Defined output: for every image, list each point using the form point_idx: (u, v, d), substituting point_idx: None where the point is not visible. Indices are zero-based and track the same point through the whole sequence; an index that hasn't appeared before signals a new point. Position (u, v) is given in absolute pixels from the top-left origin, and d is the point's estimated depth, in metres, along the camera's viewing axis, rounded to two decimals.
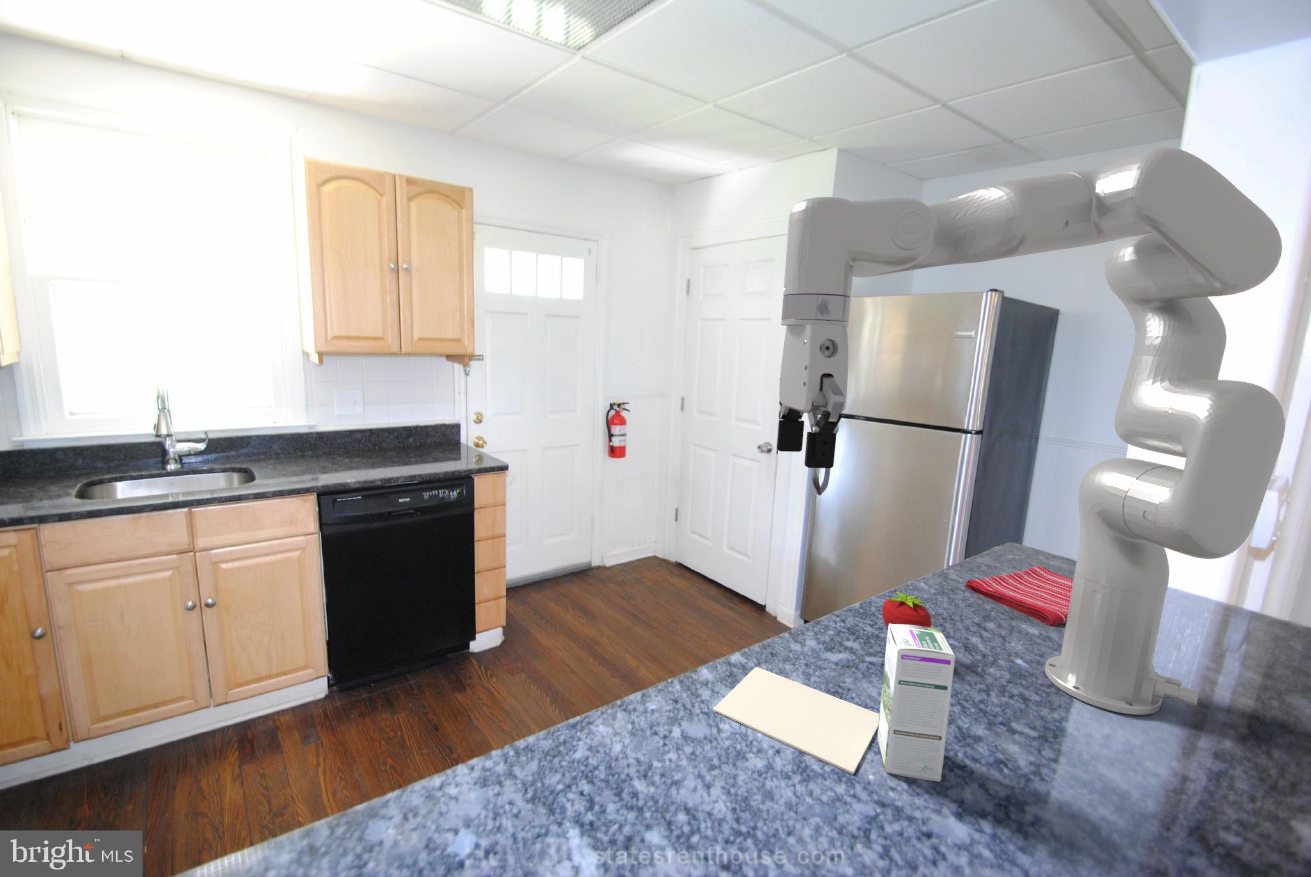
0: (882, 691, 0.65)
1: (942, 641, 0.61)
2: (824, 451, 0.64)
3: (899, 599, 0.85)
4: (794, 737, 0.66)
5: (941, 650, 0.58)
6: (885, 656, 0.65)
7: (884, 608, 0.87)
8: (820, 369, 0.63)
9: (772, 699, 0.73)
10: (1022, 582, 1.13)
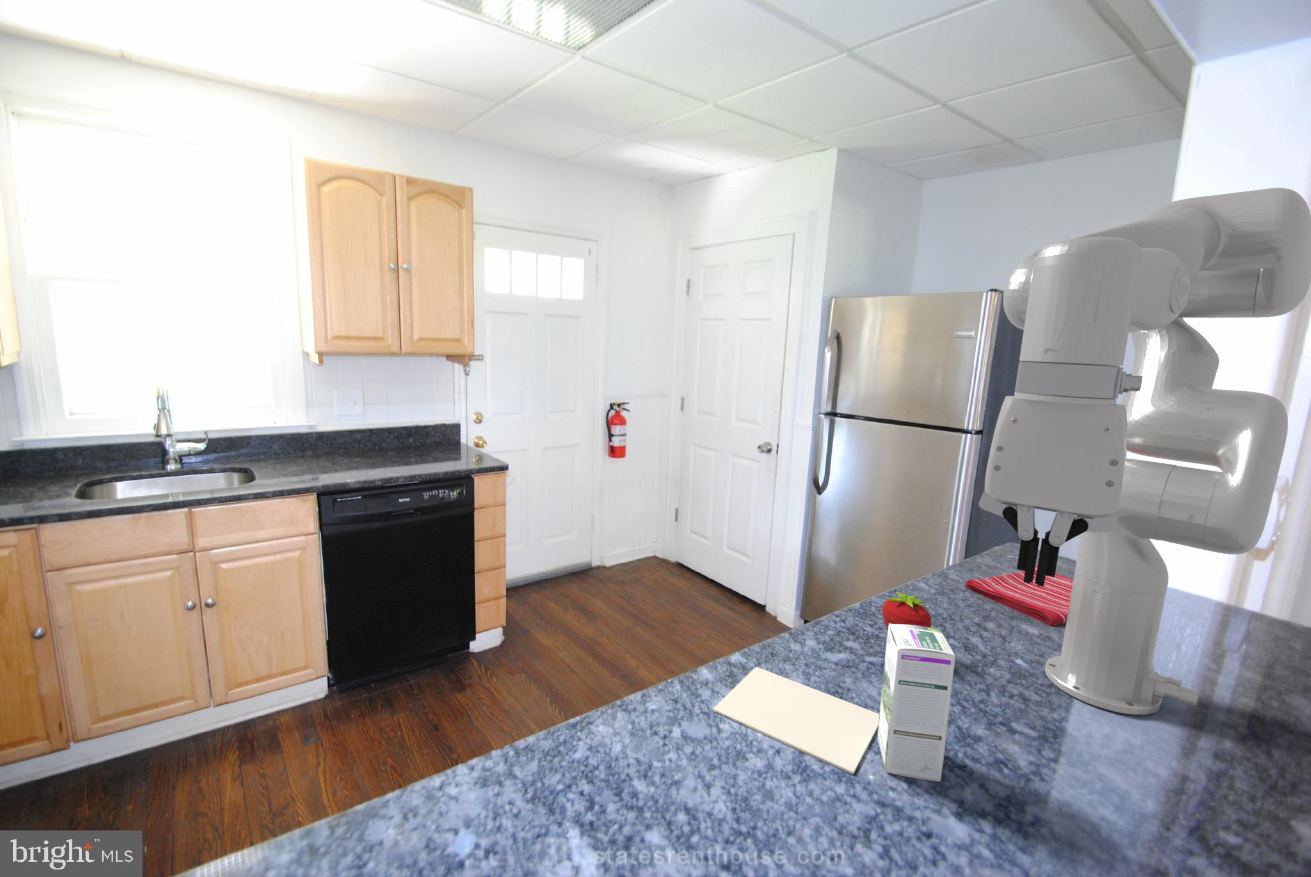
0: (882, 691, 0.65)
1: (942, 641, 0.61)
2: None
3: (899, 599, 0.85)
4: (794, 737, 0.66)
5: (941, 650, 0.58)
6: (885, 656, 0.65)
7: (884, 608, 0.87)
8: (1124, 463, 0.49)
9: (772, 699, 0.73)
10: (1022, 582, 1.13)
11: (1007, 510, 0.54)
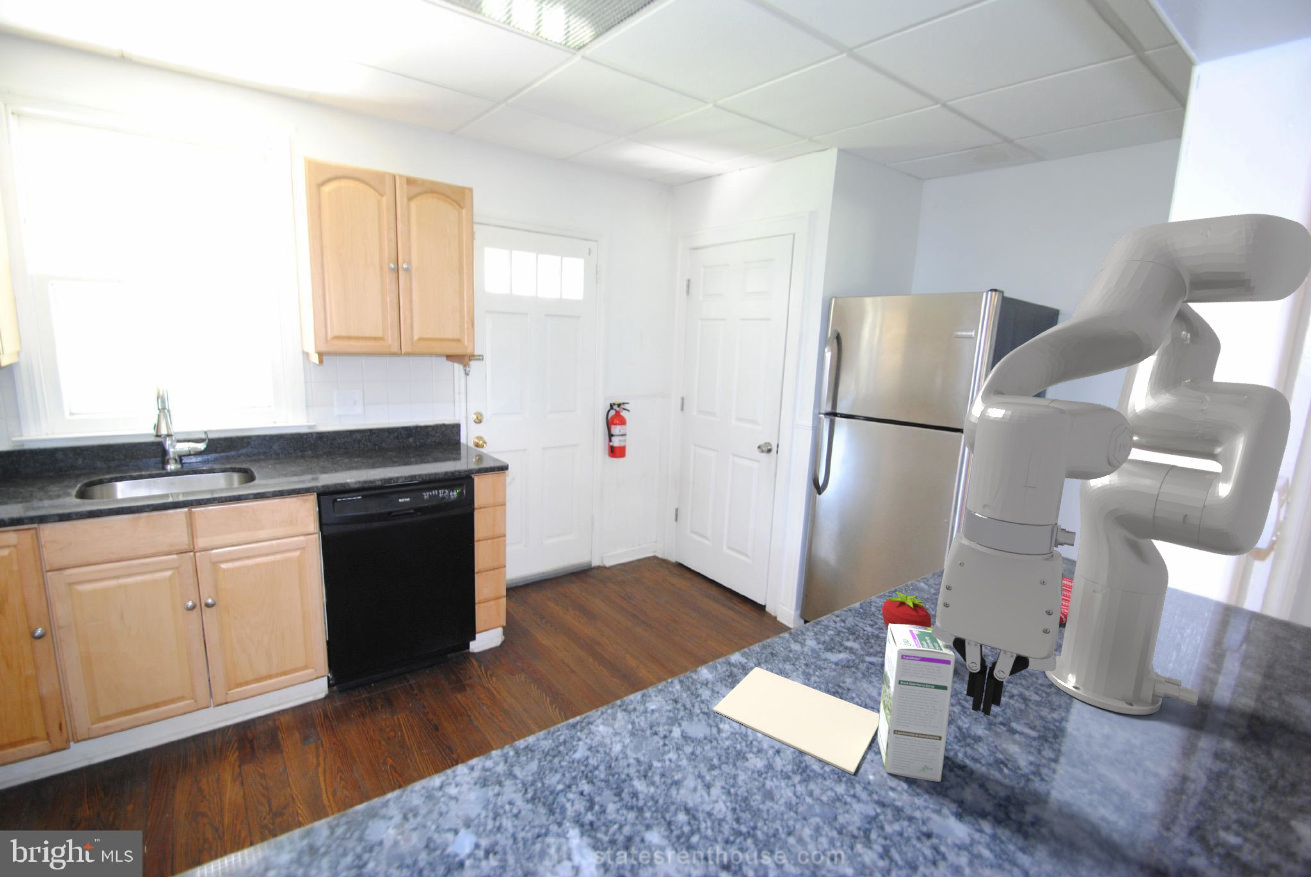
0: (882, 691, 0.65)
1: None
2: None
3: (899, 599, 0.85)
4: (794, 737, 0.66)
5: (941, 650, 0.58)
6: (885, 656, 0.64)
7: (884, 608, 0.87)
8: (1060, 610, 0.53)
9: (772, 699, 0.73)
10: None
11: (956, 641, 0.58)
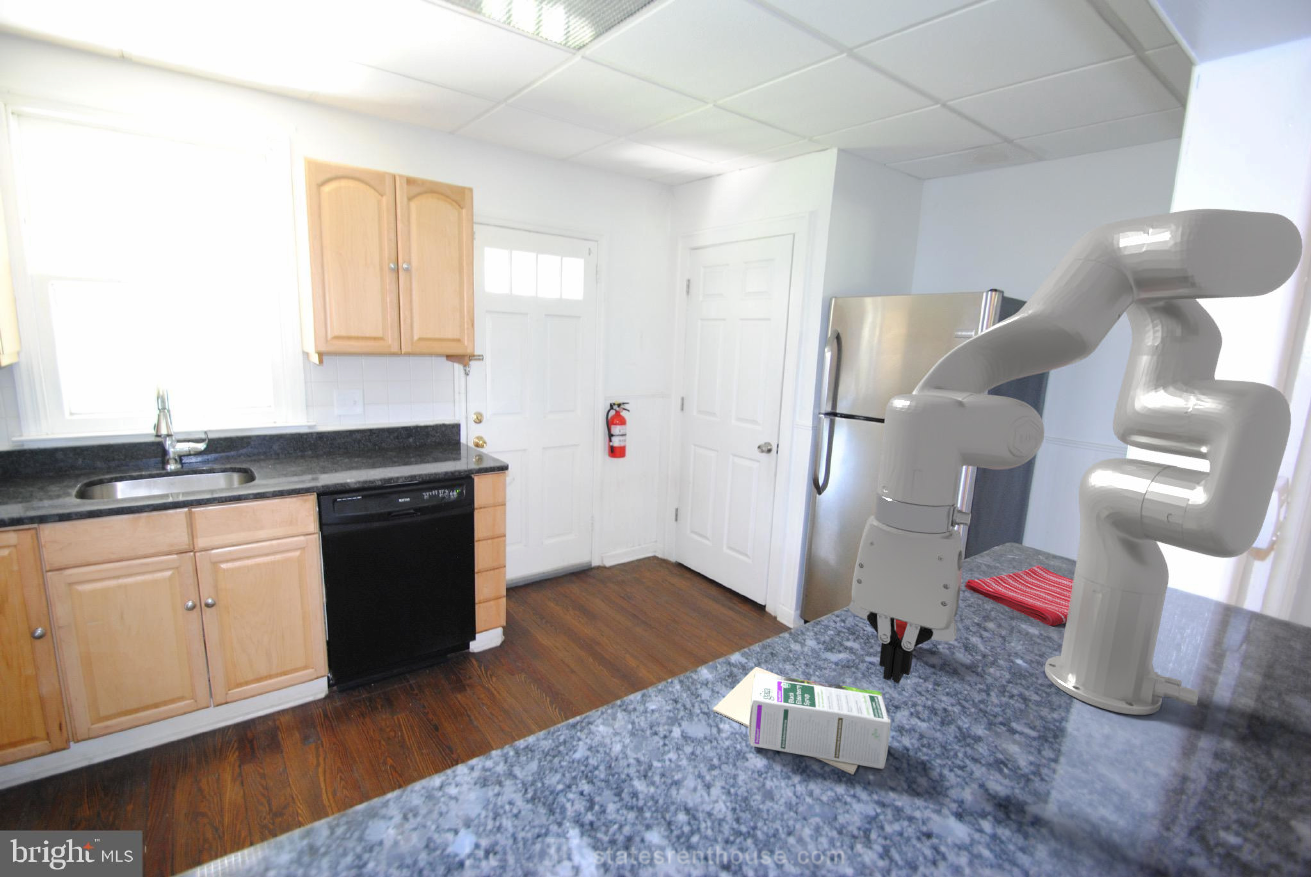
0: None
1: (752, 691, 0.66)
2: (910, 662, 0.62)
3: None
4: None
5: (750, 708, 0.64)
6: None
7: None
8: (957, 585, 0.58)
9: None
10: (1021, 582, 1.13)
11: (870, 616, 0.63)
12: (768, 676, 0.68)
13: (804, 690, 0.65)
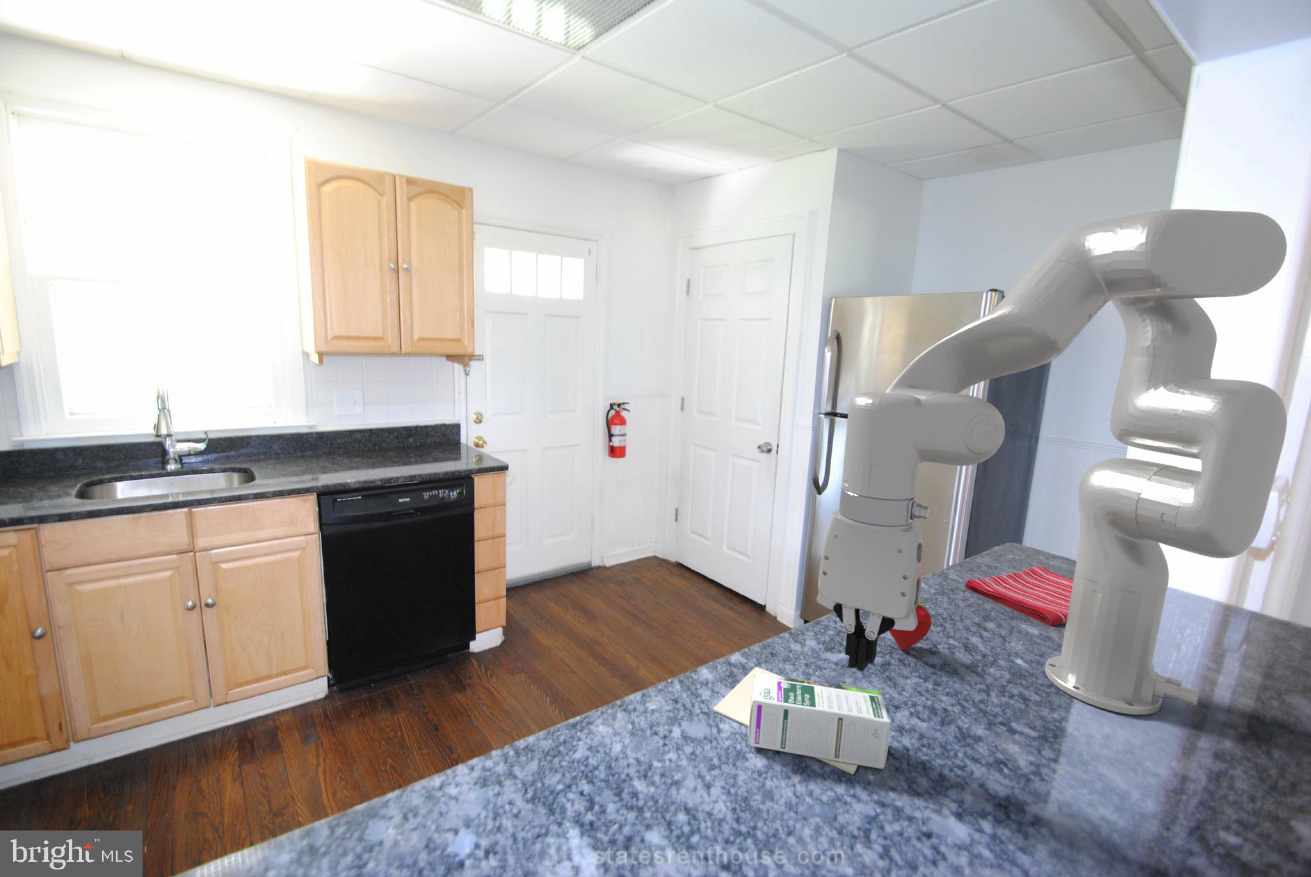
0: None
1: (752, 691, 0.66)
2: (874, 651, 0.64)
3: None
4: None
5: (750, 708, 0.64)
6: None
7: None
8: (916, 576, 0.60)
9: None
10: (1021, 582, 1.13)
11: (836, 606, 0.65)
12: (768, 676, 0.68)
13: (804, 690, 0.65)
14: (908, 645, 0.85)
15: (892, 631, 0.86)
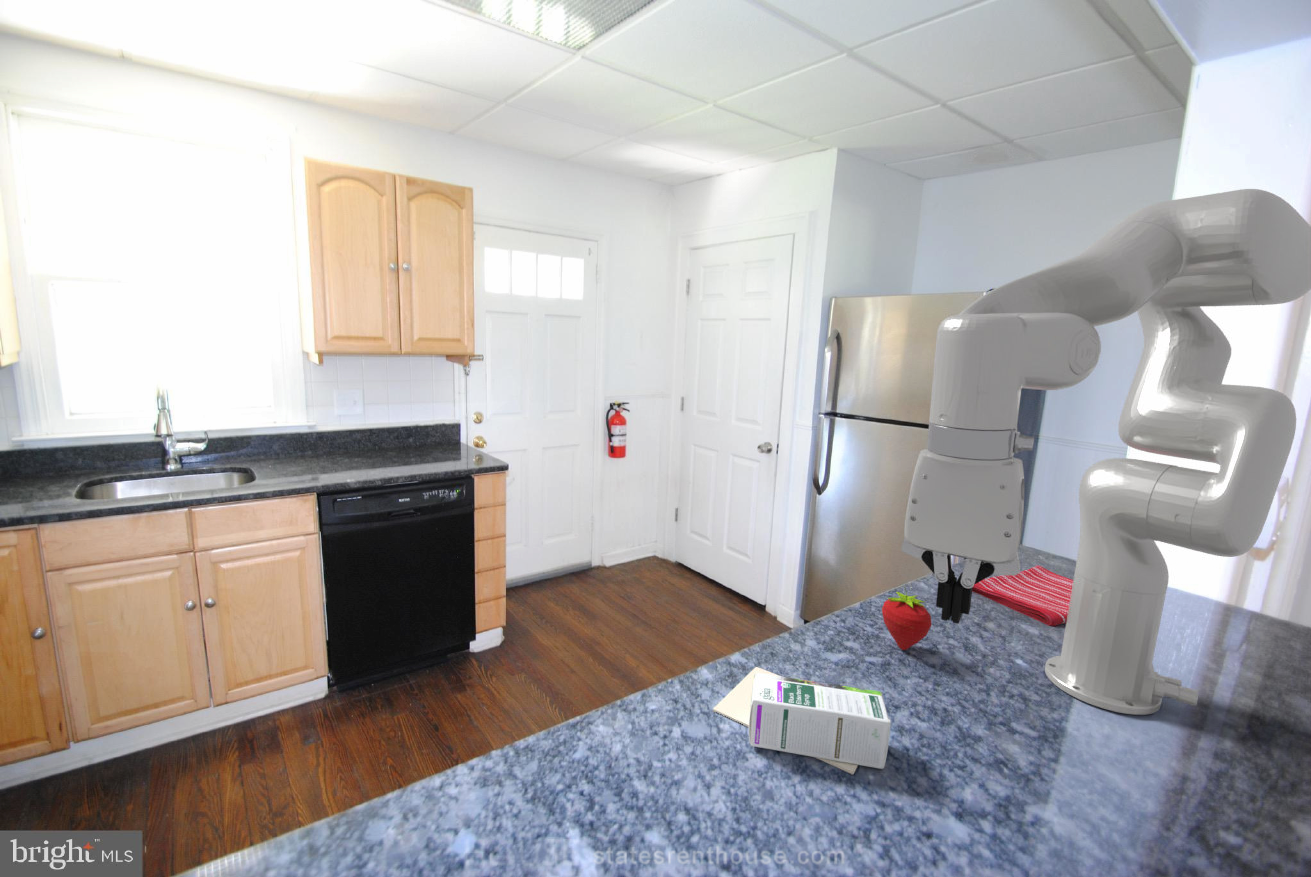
0: None
1: (752, 691, 0.66)
2: (969, 601, 0.59)
3: (899, 599, 0.85)
4: None
5: (750, 708, 0.64)
6: None
7: (884, 608, 0.87)
8: (1021, 515, 0.54)
9: None
10: (1021, 582, 1.13)
11: (925, 554, 0.60)
12: (768, 676, 0.68)
13: (804, 690, 0.65)
14: (908, 645, 0.85)
15: (892, 631, 0.86)
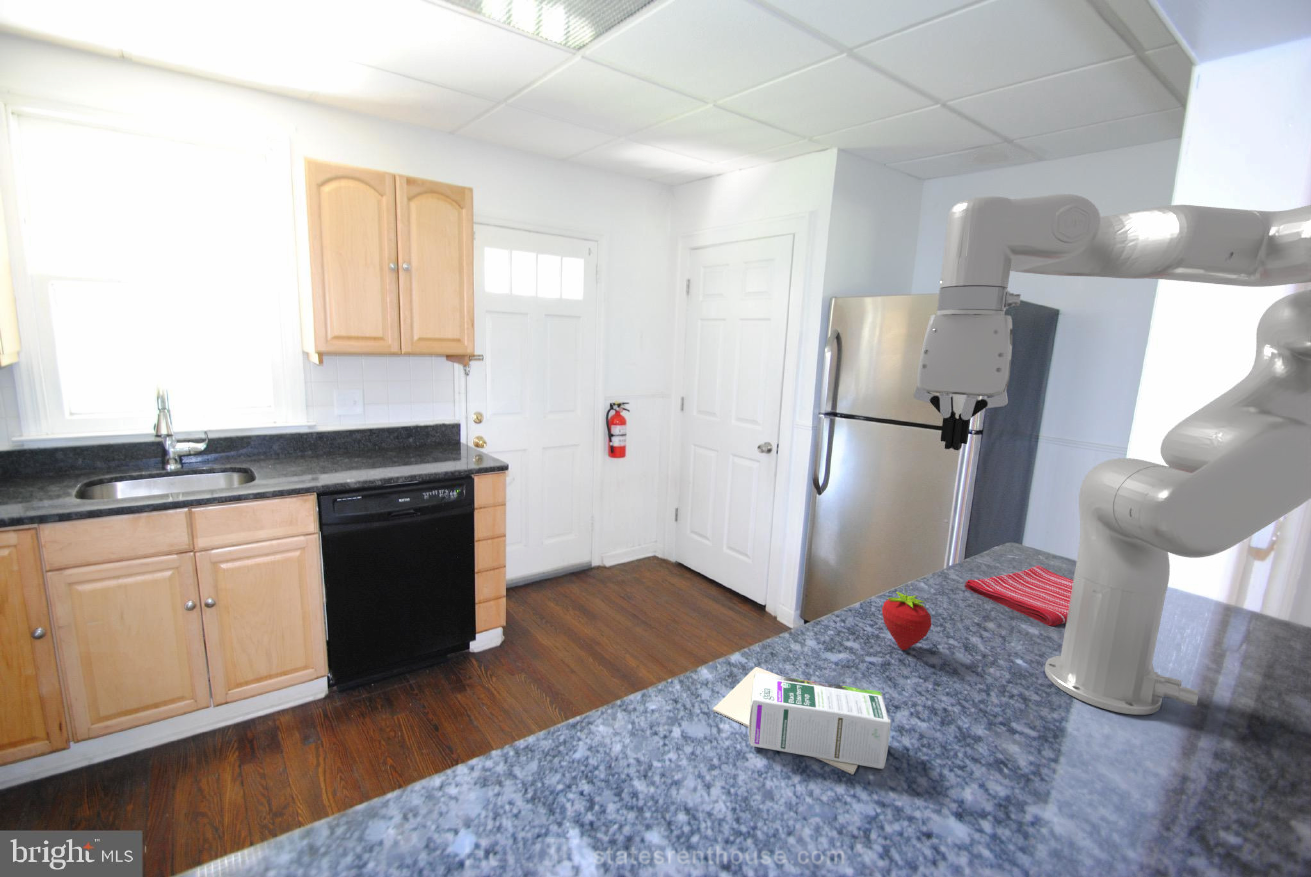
0: None
1: (752, 691, 0.66)
2: None
3: (899, 599, 0.85)
4: None
5: (750, 708, 0.64)
6: None
7: (884, 608, 0.87)
8: (1009, 356, 0.70)
9: None
10: (1021, 582, 1.13)
11: (933, 398, 0.75)
12: (768, 676, 0.68)
13: (804, 690, 0.65)
14: (908, 645, 0.85)
15: (892, 631, 0.86)
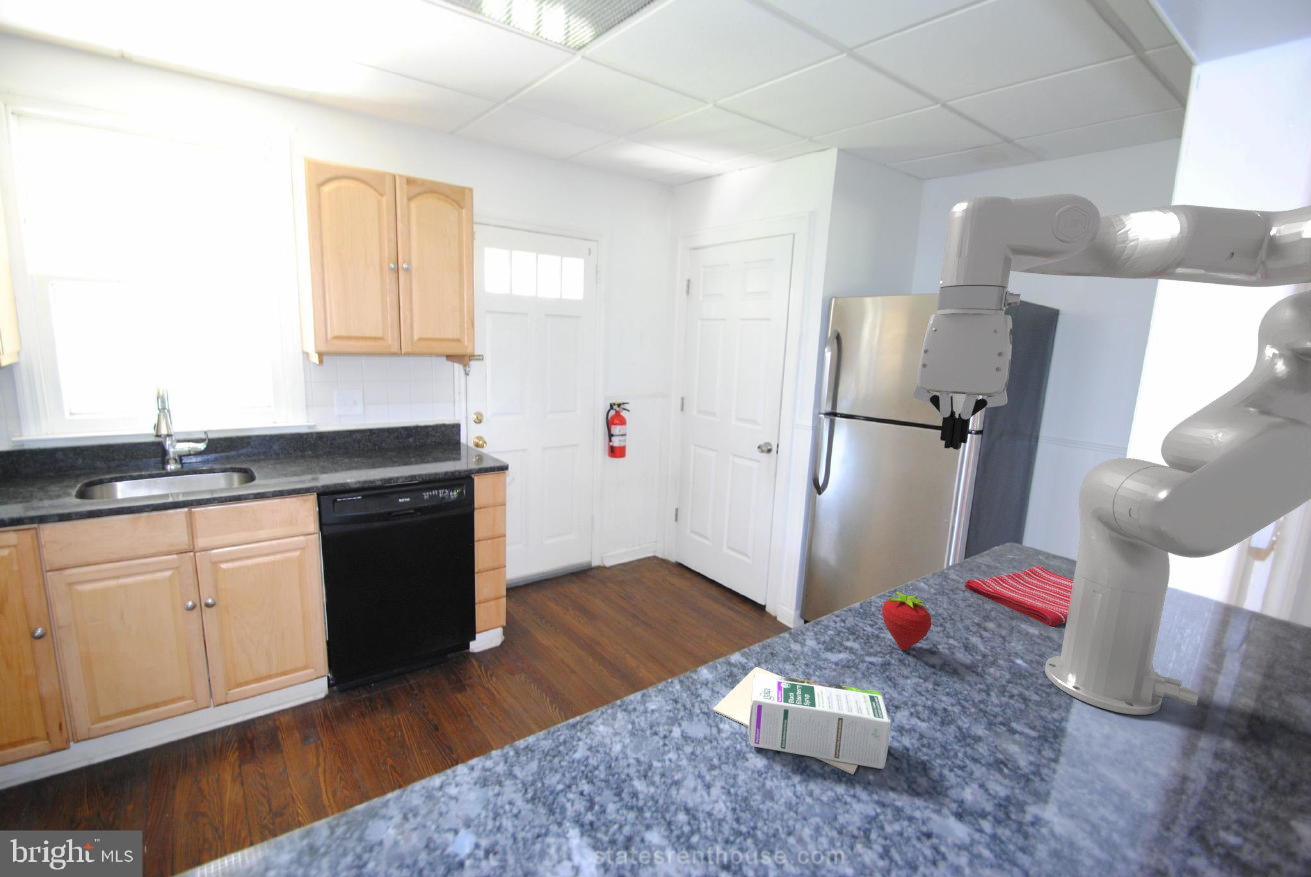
0: None
1: (752, 691, 0.66)
2: (966, 433, 0.74)
3: (899, 599, 0.85)
4: None
5: (750, 708, 0.64)
6: None
7: (884, 608, 0.87)
8: (1009, 355, 0.70)
9: None
10: (1021, 582, 1.13)
11: (933, 397, 0.75)
12: (768, 676, 0.68)
13: (804, 690, 0.65)
14: (908, 645, 0.85)
15: (892, 631, 0.86)
